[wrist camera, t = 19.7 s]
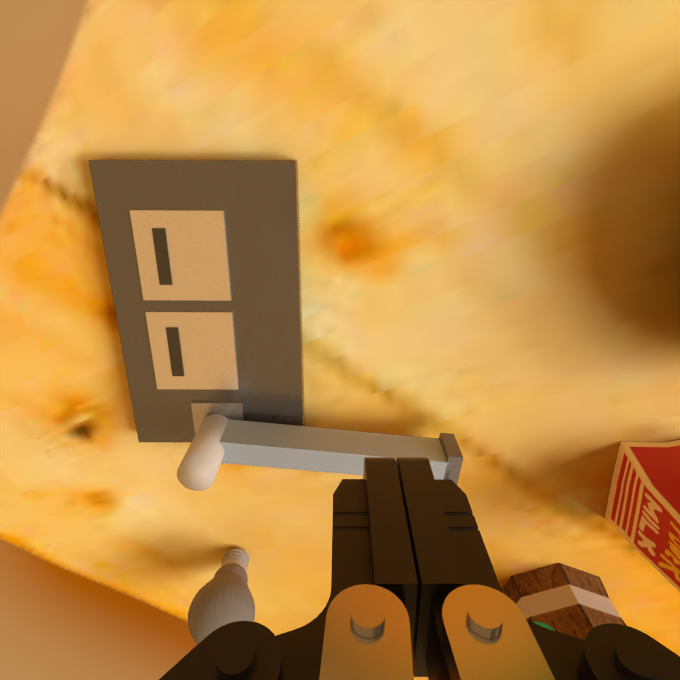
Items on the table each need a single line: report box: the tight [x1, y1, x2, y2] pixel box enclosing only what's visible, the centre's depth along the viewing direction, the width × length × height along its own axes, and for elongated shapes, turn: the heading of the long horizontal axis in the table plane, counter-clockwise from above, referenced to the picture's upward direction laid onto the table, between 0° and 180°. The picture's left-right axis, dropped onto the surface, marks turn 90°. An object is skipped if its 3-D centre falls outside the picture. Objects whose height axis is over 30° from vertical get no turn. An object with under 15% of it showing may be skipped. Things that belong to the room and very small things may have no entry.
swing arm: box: [177, 414, 463, 491], centre depth 39 cm, size 22×3×7 cm, turn 84°
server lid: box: [89, 160, 305, 442], centre depth 39 cm, size 24×15×2 cm, turn 0°
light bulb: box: [188, 549, 255, 645], centre depth 45 cm, size 6×6×10 cm
